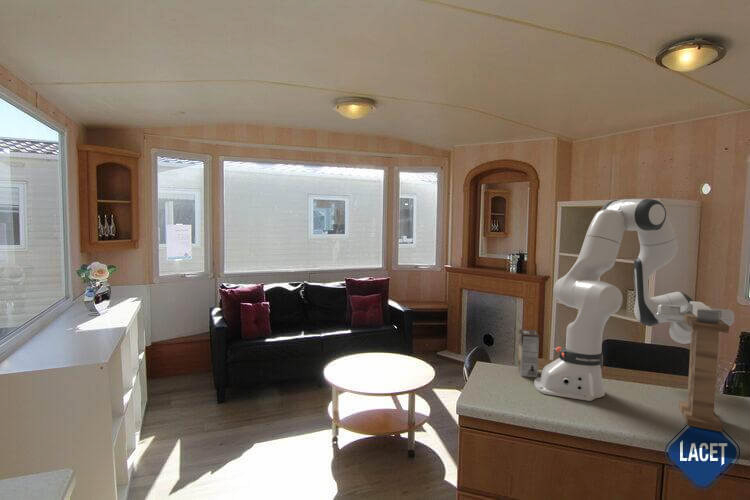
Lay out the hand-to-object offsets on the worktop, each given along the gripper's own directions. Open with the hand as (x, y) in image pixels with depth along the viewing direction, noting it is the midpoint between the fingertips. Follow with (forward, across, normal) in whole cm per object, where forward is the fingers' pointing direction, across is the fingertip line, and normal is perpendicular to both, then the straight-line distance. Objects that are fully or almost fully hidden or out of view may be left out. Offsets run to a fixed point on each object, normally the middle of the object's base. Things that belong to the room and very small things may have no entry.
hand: (698, 306), depth 135 cm
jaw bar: (+4, 0, +4) cm, 6 cm away
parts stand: (-7, 0, +33) cm, 34 cm away
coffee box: (-21, -51, +25) cm, 61 cm away
